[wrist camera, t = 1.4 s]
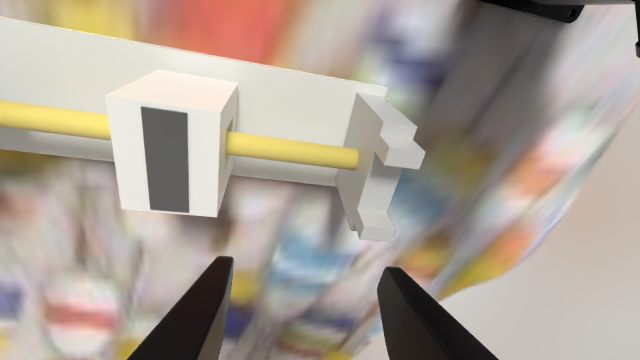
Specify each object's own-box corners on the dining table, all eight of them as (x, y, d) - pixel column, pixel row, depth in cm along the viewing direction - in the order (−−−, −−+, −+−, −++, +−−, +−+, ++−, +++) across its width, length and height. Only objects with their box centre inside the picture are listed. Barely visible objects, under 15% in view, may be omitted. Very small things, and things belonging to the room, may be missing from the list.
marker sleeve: (238, 82, 16) (220, 113, 11) (233, 164, 18) (216, 218, 14) (158, 69, 15) (103, 96, 11) (163, 156, 18) (120, 210, 13)
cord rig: (384, 86, 18) (440, 127, 12) (356, 184, 22) (388, 258, 15) (-133, -8, 14) (-503, -24, 7) (-68, 136, 17) (-282, 214, 10)
